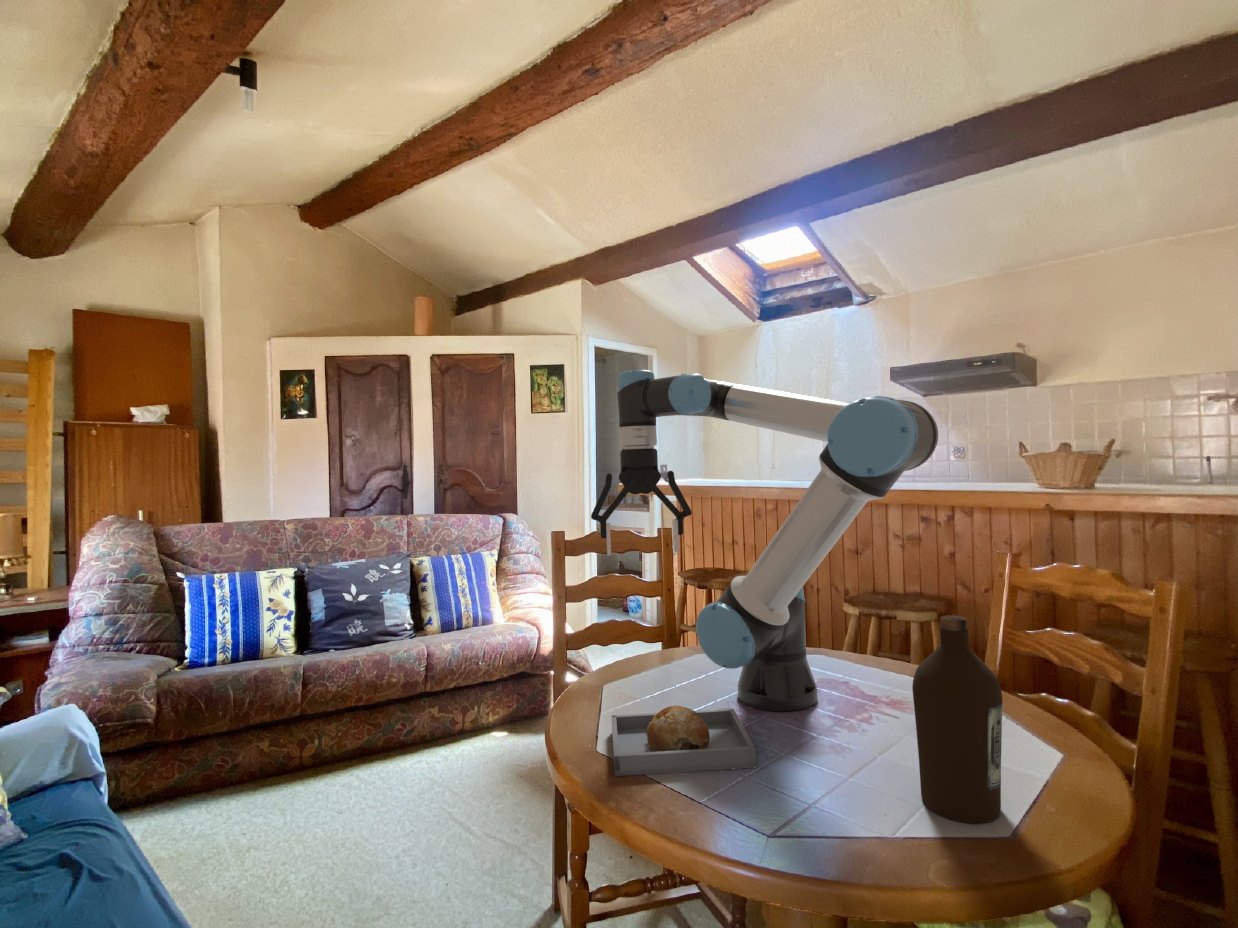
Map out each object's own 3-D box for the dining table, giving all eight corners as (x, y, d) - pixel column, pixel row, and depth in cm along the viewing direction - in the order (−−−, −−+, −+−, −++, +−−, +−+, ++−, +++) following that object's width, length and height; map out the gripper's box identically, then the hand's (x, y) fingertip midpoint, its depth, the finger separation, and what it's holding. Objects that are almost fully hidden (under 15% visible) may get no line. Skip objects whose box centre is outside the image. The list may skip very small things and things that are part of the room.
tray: (734, 725, 114) (733, 708, 114) (756, 768, 98) (755, 748, 98) (612, 732, 113) (611, 715, 113) (615, 776, 97) (614, 756, 97)
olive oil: (910, 813, 84) (903, 623, 84) (922, 777, 93) (916, 606, 93) (1004, 836, 79) (997, 632, 78) (1007, 796, 88) (1001, 613, 87)
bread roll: (662, 783, 100) (672, 745, 97) (632, 733, 108) (640, 697, 105) (713, 766, 105) (725, 730, 102) (681, 720, 113) (690, 685, 110)
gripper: (576, 450, 126) (580, 558, 126) (703, 445, 127) (707, 552, 127) (577, 450, 133) (581, 553, 134) (696, 446, 134) (700, 547, 134)
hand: (642, 553), depth 130 cm, fingers open, 13 cm apart
